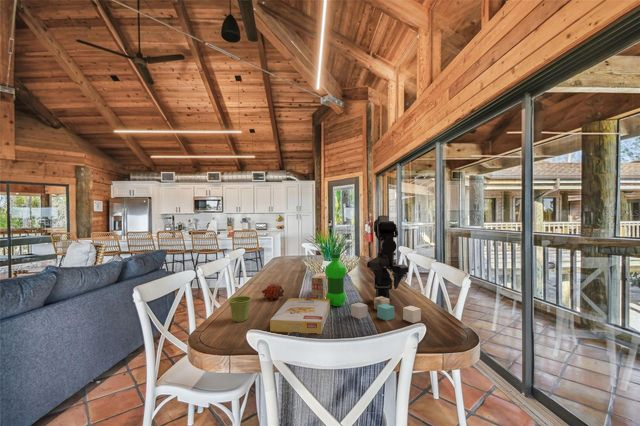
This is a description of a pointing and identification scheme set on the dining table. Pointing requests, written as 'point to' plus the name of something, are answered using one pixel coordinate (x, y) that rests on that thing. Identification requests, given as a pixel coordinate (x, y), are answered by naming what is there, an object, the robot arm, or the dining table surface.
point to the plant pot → (239, 308)
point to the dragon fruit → (273, 291)
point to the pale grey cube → (359, 310)
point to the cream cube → (412, 314)
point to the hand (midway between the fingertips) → (387, 286)
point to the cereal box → (301, 316)
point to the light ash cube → (381, 301)
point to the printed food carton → (319, 286)
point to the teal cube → (385, 312)
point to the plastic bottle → (335, 280)
